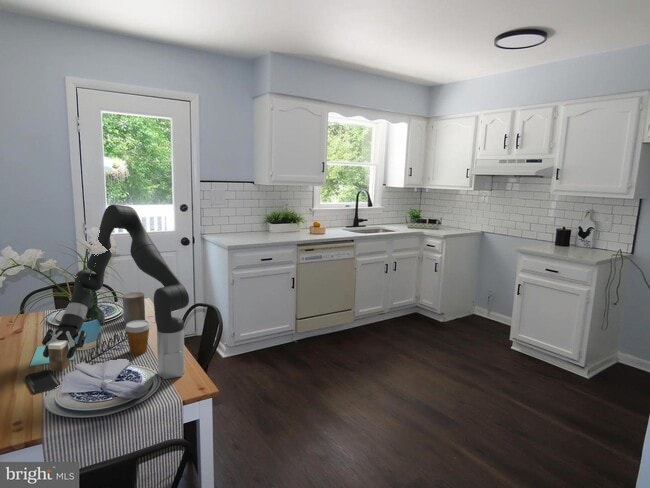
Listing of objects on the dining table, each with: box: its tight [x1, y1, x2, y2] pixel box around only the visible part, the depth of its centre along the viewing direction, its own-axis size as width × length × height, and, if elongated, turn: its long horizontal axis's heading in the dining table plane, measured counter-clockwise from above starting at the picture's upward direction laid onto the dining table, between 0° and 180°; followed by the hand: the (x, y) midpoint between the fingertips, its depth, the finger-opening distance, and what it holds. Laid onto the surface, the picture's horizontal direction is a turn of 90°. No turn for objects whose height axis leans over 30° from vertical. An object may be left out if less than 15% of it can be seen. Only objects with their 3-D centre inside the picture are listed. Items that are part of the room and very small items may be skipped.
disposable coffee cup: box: [124, 319, 151, 356], centre depth 169 cm, size 10×10×12 cm
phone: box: [24, 369, 61, 395], centre depth 143 cm, size 8×1×15 cm
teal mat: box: [29, 342, 76, 368], centre depth 165 cm, size 18×14×1 cm
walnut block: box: [48, 339, 71, 372], centre depth 153 cm, size 4×4×10 cm
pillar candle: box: [122, 291, 146, 325], centre depth 202 cm, size 10×10×15 cm
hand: (57, 357), depth 152 cm, fingers open, 8 cm apart
